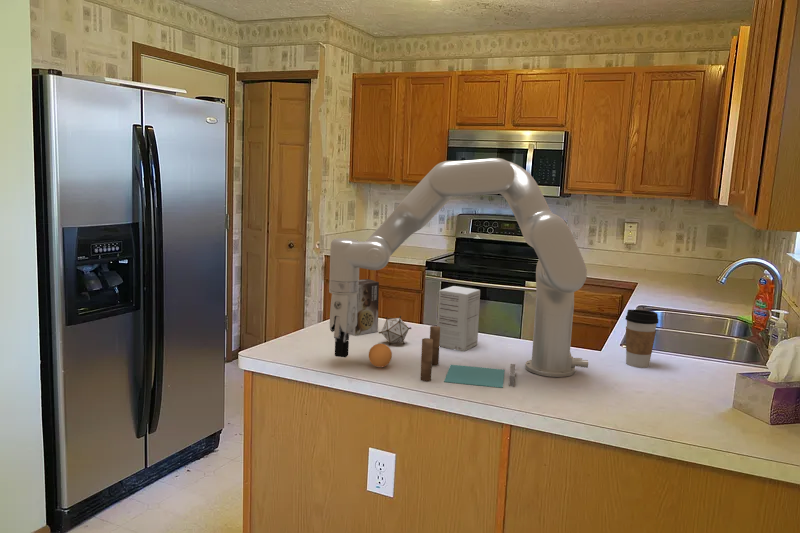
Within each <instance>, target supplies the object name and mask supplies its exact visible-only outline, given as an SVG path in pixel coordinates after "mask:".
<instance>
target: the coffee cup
mask: <svg viewBox="0 0 800 533" xmlns="http://www.w3.org/2000/svg"><path fill="white" fill-rule="evenodd" d="M658 316H659V315H658V313H657V312H654V311H651V310H644V309H627V312H626V315H625V320H626V326H625V345H626V346H625V349H626V350H625V354H626V355H625V356H626V358H625V363H626V364H627V365H628V366H631V367H634V368H641V369H643V368H644V369H645V368H648V367H650V364H651V359H652V358H651V357H652V353H653V348H654V343H655V338H656V334H657V324H659V317H658Z"/></svg>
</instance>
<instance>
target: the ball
mask: <svg viewBox="0 0 800 533" xmlns="http://www.w3.org/2000/svg"><path fill="white" fill-rule="evenodd" d="M392 356H393V353H392V350H391V347H389V345H386V344H384V343H376V344H374V345H373V346H371V348H370V349H369V351H368V361H369V362H370V363H371V364H372V365H373V366H374V367H376V368H383V367H386V366H388V365H389V364H390V362H391V361H392Z"/></svg>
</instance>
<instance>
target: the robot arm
mask: <svg viewBox="0 0 800 533" xmlns="http://www.w3.org/2000/svg"><path fill="white" fill-rule="evenodd" d="M498 194H499V195H501V196H502V198H503V197H504V199H505V201H506V202H507V203H508V205H509V208H510V210H511V212H512V213H513V215H514V218H515V220H516V222H517V224H518V226H519V229H520V231H521V234H522V236H523V239H524V241H525V242H526V243H527V245H528V246H530V247H532V248H533V250H534V252H535V254H536V256H537V258H538V261H537V263H536V266H535V267H536V268H535V284H536V285H535V288H536V291H535V292H536V293H535V294H536V296H535V310H534V322H533V323H534V324H533V325H534V326H533V336H532V337H533V338H532V351H531V359H529V360H527V361H526V362H525V363H524V365H525V366H524V367H525V369H526V370H527V371H529V372H530V373H532V374H536V375H540V376H544V377H548V378H549V377H550V378H564V377H565V378H566V377H570V376H572V375H575V372H576V367H578V368H579V367H580V368H583V369H584V368H586V369H589V360H588V359H583V358H581V357H574V356H572V353H571V345H572V344H571V343H572V342H571V341H572V335H573V334H572V332H573V331H572V330H573V320H574V319H573V318H574V311H575V309H574V308H575V307H574V306H575V292H577V291H579V290H580V289H582V287H583V286H584V284H585V282H586V280H587V277H588V272H587V267H586V266H587V265H586V263H585V260H584V257H583V255H582V253H581V251H580V249H579V247H578V244H577V241H576V240H575V237H574V234H573V233H572V231H571V229H570V227H569V225H568V224H567V222H566V221H565V220H564V219H563V218H562V216H559V215H557V214H556V213H553V212H552V211H551V209H550V206H549V205H548V203H547V201H546V198H545V197H544V194H543V193H542V191H541V189H540V186H539V184H538V182H537V181H536V180H535V179H534V177H533V176H532V175H531V174H530V173H529V172H528V171H527V170H526V169H524V168H523V167H522V166H520V165H519V164H516V163H514V162H513V161H508V160H506V159H504V158H500V157H492V158H481V159H480V158H478V159H467V160H464V159H463V160H445V161H442V162H441V161H440V162H439V163H437V164H436V165H435V166H434V167H432V169H431V170H429V172H428V173H427V174H425V176H424V177H423V178H422V179H421V180H420V181H419V182H418V183H417V185H415V187H414V188H413V189H412V190H410V192H409V193H408V194H407V195H406V196H405V197H404V198H403V199H402V200H401V202H399V204H398V205H397V206H396V208H395V209H394V210H393V211H392V212H391V214H390V215H389V216H388V217H387V218H386V219H385V220H384V221H383V222H382V224H380V226H378V228H377V229H376V230H375V231H374V232H372V234H371V235H370V236H369V237H368V238H367V239H366V240H365V241H364V240H363V241H362V240H361V241H359V240H358V239H356V238H349V237H338V238H337V237H336V238H334V239H332V240H331V241H330V247H329V248H330V249H329V250H330V252H329V253H330V254H329V257H330V258H329V259H330V260H329V282H328V284H329V285H328V293H329V294H331V299H330V310H329V331H331V333H333V338H334V356H335V357H338V358H347V357H348V356H349V346H350V345H349V344H350V342H349V341H350V334H349V332H350V331H351V330H353V329H354V328H355V327H356V326H357V294H358V290H359V280H360V269H365V270H369V271H379V270H382V269H384V268H385V267H387V265H388V263H389V262H390V257H391V256H392V255H393V254H394V253H395V252H396V251H397V250H398V249H399V247H401V245H402V244H403V243H404V242H405V241H406V240H408V239H409V238H410V237H411V236H412V235H413V234H414V233H416V232H418V231H420V230H421V229H423V228H424V227H425V226H426V225H427V224H428V223H429V222H430V221H431V220H432V219H433V218H434V217H435V216H436V215H437V214H438V212H439V211H441V210H442V209H443V207H444V206H445V205H446V204H447V203H449V201H451V199H452V198H453V197H471V196H472V197H474V196H484V195H485V196H487V195H498Z"/></svg>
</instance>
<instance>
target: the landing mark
mask: <svg viewBox="0 0 800 533" xmlns="http://www.w3.org/2000/svg"><path fill="white" fill-rule="evenodd" d="M504 380H505V369H502V368H501V369H500V368H492V367H491V368H490V367H481V366H471V365H469V366H468V365H461V364H450V365H449V368H448V370H447V373H446V376H445V378H444V380H443V382H444V383H450V384H459V385H468V386H469V385H470V386H478V387H488V388H498V389H503V388H504Z"/></svg>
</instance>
